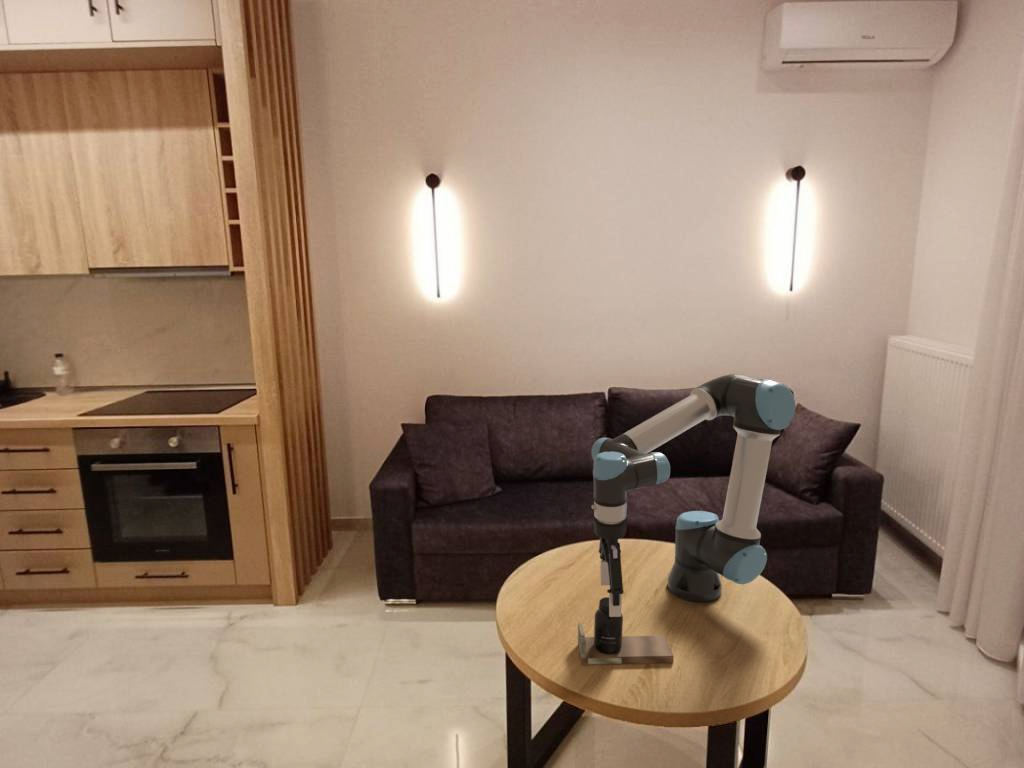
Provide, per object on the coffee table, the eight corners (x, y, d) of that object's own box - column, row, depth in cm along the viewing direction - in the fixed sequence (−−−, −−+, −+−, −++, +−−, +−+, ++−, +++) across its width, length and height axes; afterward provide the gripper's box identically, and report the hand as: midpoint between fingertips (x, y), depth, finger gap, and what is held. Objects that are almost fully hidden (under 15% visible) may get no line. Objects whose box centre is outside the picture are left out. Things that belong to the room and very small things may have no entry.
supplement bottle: (604, 658, 146) (605, 612, 144) (588, 643, 152) (588, 599, 150) (627, 650, 149) (628, 605, 147) (611, 635, 155) (611, 592, 153)
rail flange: (664, 642, 155) (665, 620, 154) (673, 663, 147) (674, 640, 146) (577, 643, 155) (578, 621, 154) (581, 665, 147) (581, 642, 146)
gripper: (587, 497, 156) (588, 573, 161) (602, 543, 132) (602, 631, 136) (616, 496, 156) (617, 572, 161) (637, 541, 132) (636, 629, 136)
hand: (610, 599), depth 148 cm, fingers open, 13 cm apart
